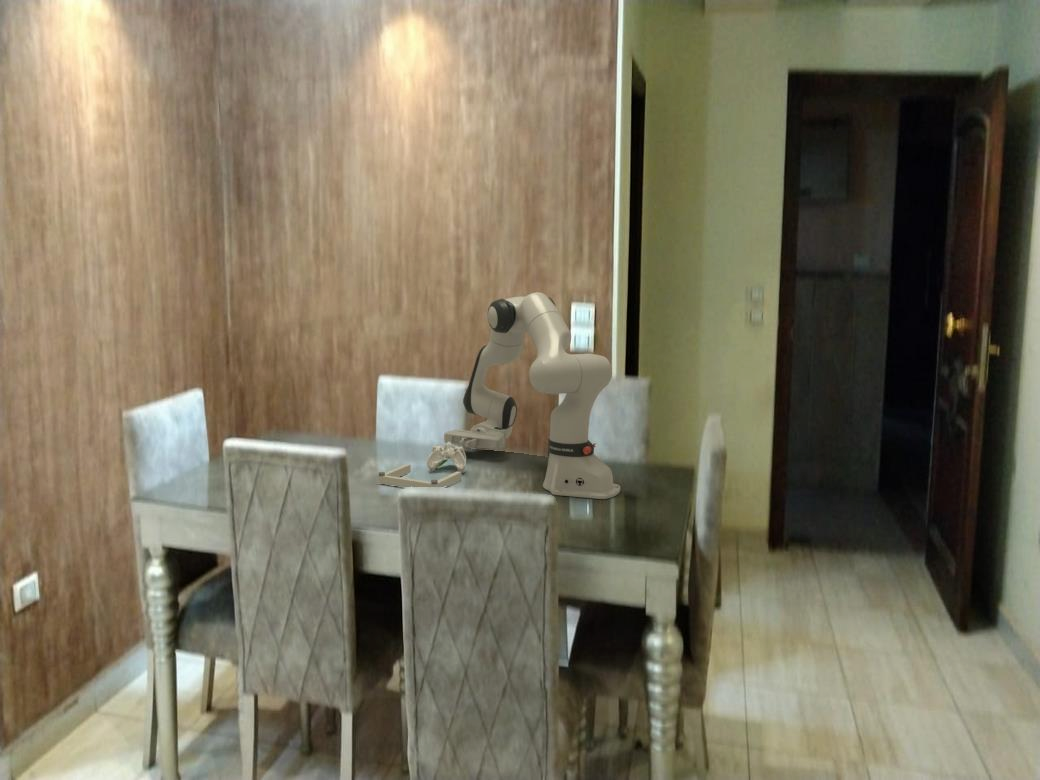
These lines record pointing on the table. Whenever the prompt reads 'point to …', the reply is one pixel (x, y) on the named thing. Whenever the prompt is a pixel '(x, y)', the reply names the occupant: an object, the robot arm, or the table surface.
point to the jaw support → (446, 457)
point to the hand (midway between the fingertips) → (463, 444)
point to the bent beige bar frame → (394, 479)
